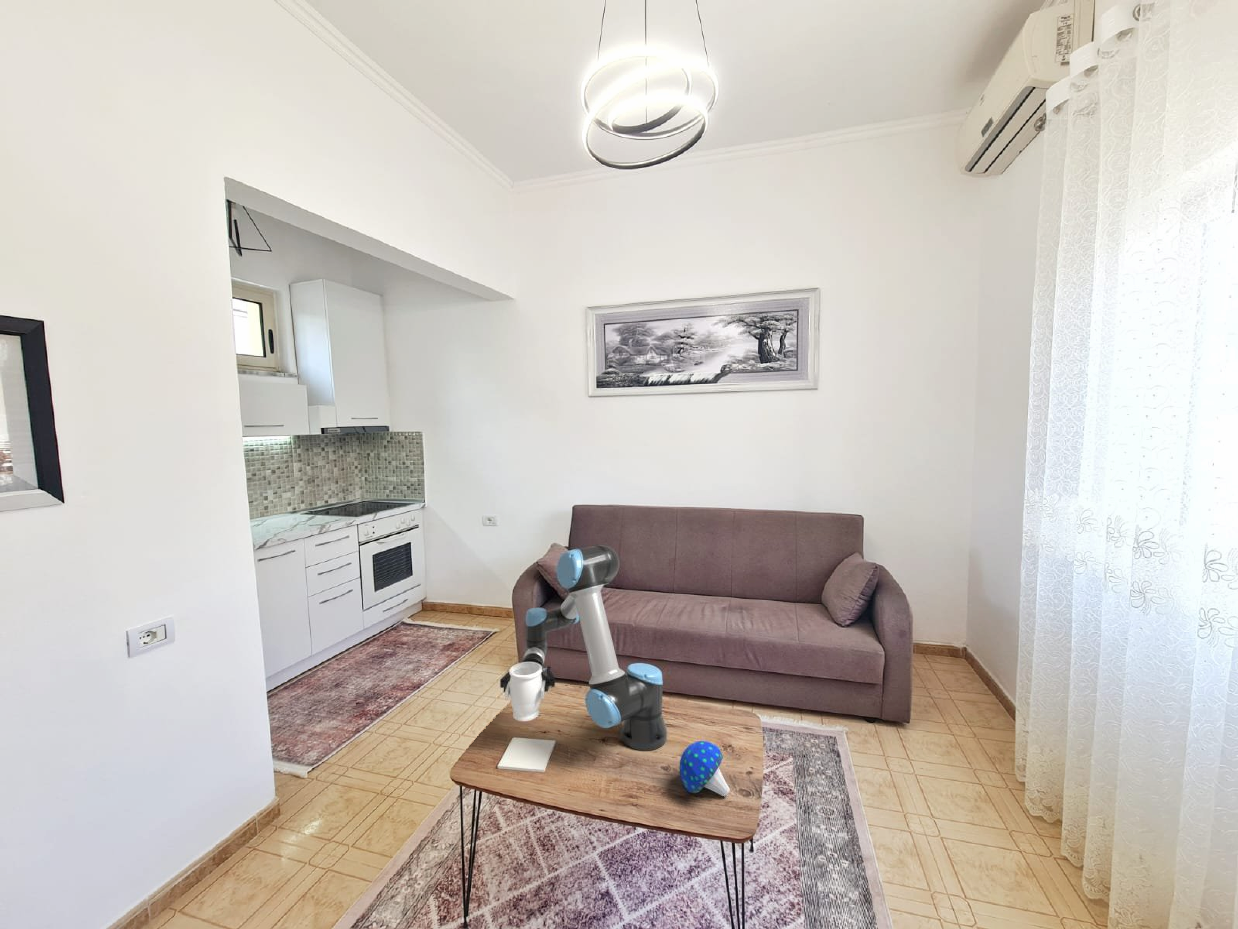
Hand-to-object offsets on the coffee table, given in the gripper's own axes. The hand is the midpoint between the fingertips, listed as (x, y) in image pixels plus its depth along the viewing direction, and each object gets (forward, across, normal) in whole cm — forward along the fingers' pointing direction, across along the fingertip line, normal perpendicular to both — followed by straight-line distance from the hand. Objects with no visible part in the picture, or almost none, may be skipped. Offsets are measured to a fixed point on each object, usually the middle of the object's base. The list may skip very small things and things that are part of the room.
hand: (524, 695), depth 152 cm
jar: (-4, 0, -9) cm, 10 cm away
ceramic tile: (+2, -1, -18) cm, 18 cm away
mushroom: (+19, -52, -18) cm, 58 cm away
